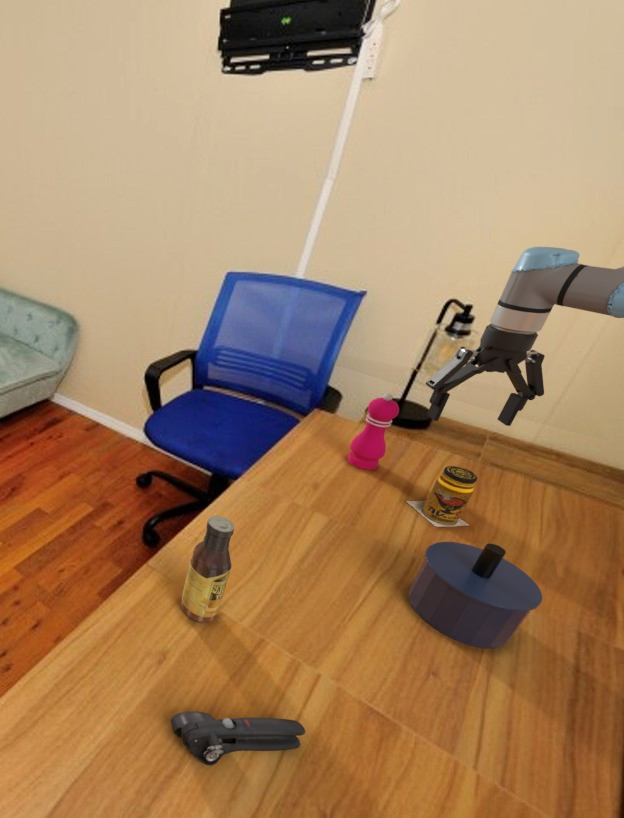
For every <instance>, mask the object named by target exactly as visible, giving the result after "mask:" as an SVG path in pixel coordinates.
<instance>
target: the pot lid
mask: <svg viewBox="0 0 624 818" xmlns="http://www.w3.org/2000/svg"><path fill="white" fill-rule="evenodd" d="M506 554H507V552H506V550H505V548H503V547H502V546H500V545H498V544H495V543H486V544H485V546H484V548H480V547H477V546H475V545H470V544H467V543H463V542H457V541H440V542H435V543H432V544H431V545H429V546H428V547H427V548H426V551H425V552H424V560H425V559H426V562H427V564H428V566H429V567H430V569H431V570H432V571H433V572H434V574H435V575H436V576H437V577H439V578H440V579H441V580H442V581H443V582H444V583H446V584H447V585H449V586H450V587H451V588H453V589H455V590H456V591H458V592H459V593H461V594H463V595H465V596H467V597H469V598H471V599H473V600H475V601H478V602H480V603H483V604H486V605H488V606H491V607H495V608H498V609H503V610H508V611H518V612H522V611H530V610H531V611H533V610H536V609H537V608H538V607H539V606H540V605H541V603H542V602H543V593H542V590H541V589H540V587H539V585H538V584H537V583H536V581H535V580H533V578H532V577H531V576H529V575H528V574H527V573H526V572H525V571H524V570H522V569H521V568H520V567H518V566H517V565H516V564H514V563H512V562H511V561H508V560H507V559H505V558H504V557H505V555H506ZM531 611H530V612H531Z"/></svg>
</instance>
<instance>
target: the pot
mask: <svg viewBox="0 0 624 818" xmlns="http://www.w3.org/2000/svg"><path fill="white" fill-rule="evenodd" d="M407 594H408V601H409V603H410V605H411V607H412V609H413V610H414V612H415V613H416V614H417V615H418V616H419V617H420V618H421V619H422V620H423V621H424V622H426V623H427V624H428V625H429V626H431V627H432V628H433V629H435V630H436V631H438V632H439V633H441V634H443V635H444V636H446V637H448V638H450V639H451V640H455V641H457V642H459V643H462V644H464V645H468V646H470V647H475V648H478V649H479V648H480V649H499V648H502V647H504V646H506V645H507V643H508V642H510V640H511V639H513V636H514V635H515V633H516V632H517V631H518V630H519V628H520V627H521V625H522V624H523V622H524V621H525V619H526V618H527V616H528V615H529V614H530V613H531V611H532V610H530V611H522V612H518V611H508V610H503V609H498V608H495V607H491V606H488V605H486V604H483V603H480V602H478V601H475V600H473V599H471V598H469V597H467V596H465V595H463V594H461V593H459V592H458V591H456V590H455V589H453V588H451V587H450V586H449V585H447V584H446V583H444V582H443V581H442V580H441V579H440V578H439V577H437V576H436V575H435V574H434V572H433V571H432V570H431V569H430V567H429V566H428V564H427V562H426V559H425V558H424V560H423V562H422V563H421V566H420V567H419V569H418V571H417V573H416V575H415V577H414V579H413V581H412V583H411V584H410V587H409V590H408V593H407Z"/></svg>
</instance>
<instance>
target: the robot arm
mask: <svg viewBox="0 0 624 818" xmlns="http://www.w3.org/2000/svg"><path fill="white" fill-rule="evenodd" d="M579 258H580V253H579V252H578V251H576V250H573V249H567V248H562V247H554V246H552V247H551V246H533V247H529V248H526V249H525V250H524V251H522V253H521V254H520V256H519V258H518V260H517V261H516V263H515V264H514V267H513V269H511V271H510V275H509V277H508V279H507V282H506V284H505V286H504V288H503V290H502V293H501V296H500V298H499V300H498V301H497V303H496V306H495V307H494V309H493V312H492V314H491V316H490V318H489V320H488V321H489V323H490V324H488V325H486V326H485V329H484V331H483V333H482V335H481V337H480V341H479V346H478V347H477V348H476V349H470V348H467V347H465V346H460V347H459V348H458V349H457V351H456V352H455V354H454V356H452V357H451V358H450V360H448V361H447V362H446V363H445V364H444V365H443V366H442V367H441V368H440V369H438V370H437V371H436V372H435V373H434V374H433V375H432V376H431V377H430V378H429V379H428V380H426V382H425V385H426V386H427V387H428V388H430V389H431V390H433V391H432V393H431V396H430V397H429V403H430V406H429V409H428V411H427V413H426V416H428V417H429V418H430V419H431V420H433V421H434V422H439V420H440V418H441V416H442V413H443V411H444V409H445V407H446V404H447V403H448V400H449V398H450V395H451V393H449V391H452V390H453V389H455V388H456V387H458V386H459V385H461V384H463V383H465V382H466V381H467V380H469V379H471V378H473V377H474V376H476V375H480V374H483V373H484V372H486V373H495V372H496V373H498V374H499V373H500V374H505V373H506V375H507V377H508V379H509V380H510V383H511V385H512V386H513V388H514V390H515V391H516V393H515V392H511V393H510V394H509V396H508V397H507V400H506V402H505V404H503V405H504V406H503V408H502V409H501V411H500V413H499V415H498V416H497V421H498V422H500V423H501V424H503V425H504V426H507V427H511V426H512V424H513V422H514V420H515V418H516V416H517V415H518V412H521V411H522V410H524V407H526V404H527V402H528V401H533V400H535V399H536V396H537V397H542V396H544V395H545V387H544V377H543V365H542V364H543V362H544V360H545V357H546V356H545V354H543V353H542V352H539V351H537V350H535V349H532V348H533V346H534V344H535V342H536V340H537V338H538V337H539V334H538V332H541V331H542V330H543V327H544V326H545V323H546V321H547V319H548V317H549V315H550V313H551V312H552V309H553V307H554V306H555V305H556V306H561V307H567V308H571V309H576V310H580V311H586V312H590V313H594V314H595V313H596V314H600V315H604V316H605V315H606V316H610V317H613V318H615V319H624V266H621V267H618V268H608V267H600V266H594V265H588V264H583V263H579ZM522 362H524V366H525V374H526V375H525V376H526V380H525V378H524V375H523V374H522V370H521V368H520V366H519V364H521V363H522ZM476 365H477V366H476Z"/></svg>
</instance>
